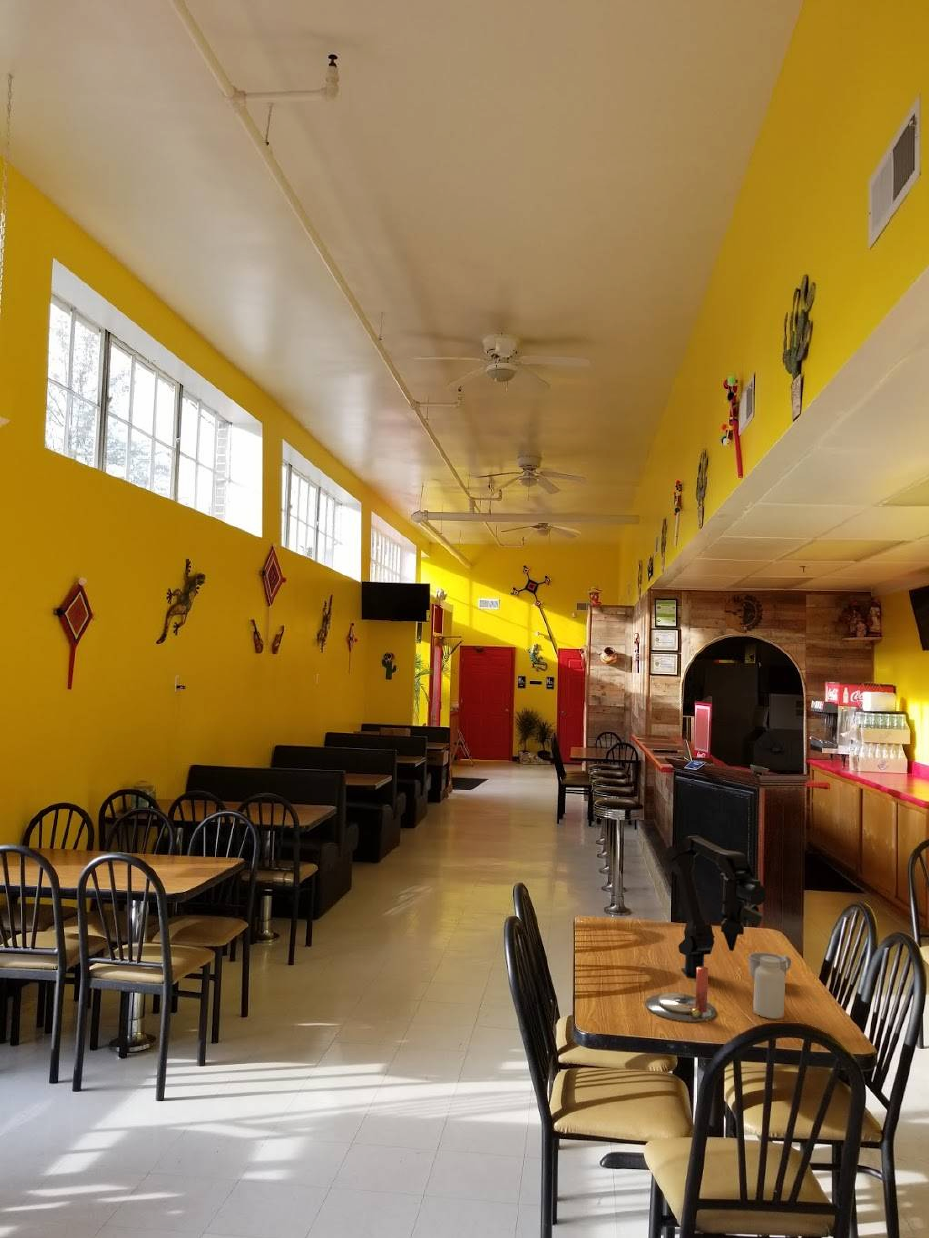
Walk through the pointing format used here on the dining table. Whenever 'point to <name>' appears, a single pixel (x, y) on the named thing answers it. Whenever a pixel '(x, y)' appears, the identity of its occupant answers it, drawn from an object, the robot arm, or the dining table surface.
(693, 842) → the robot arm
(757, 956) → the teacup
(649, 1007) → the post plate
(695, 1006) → the flange
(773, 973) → the pill bottle
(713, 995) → the dining table surface
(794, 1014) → the dining table surface
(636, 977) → the dining table surface
